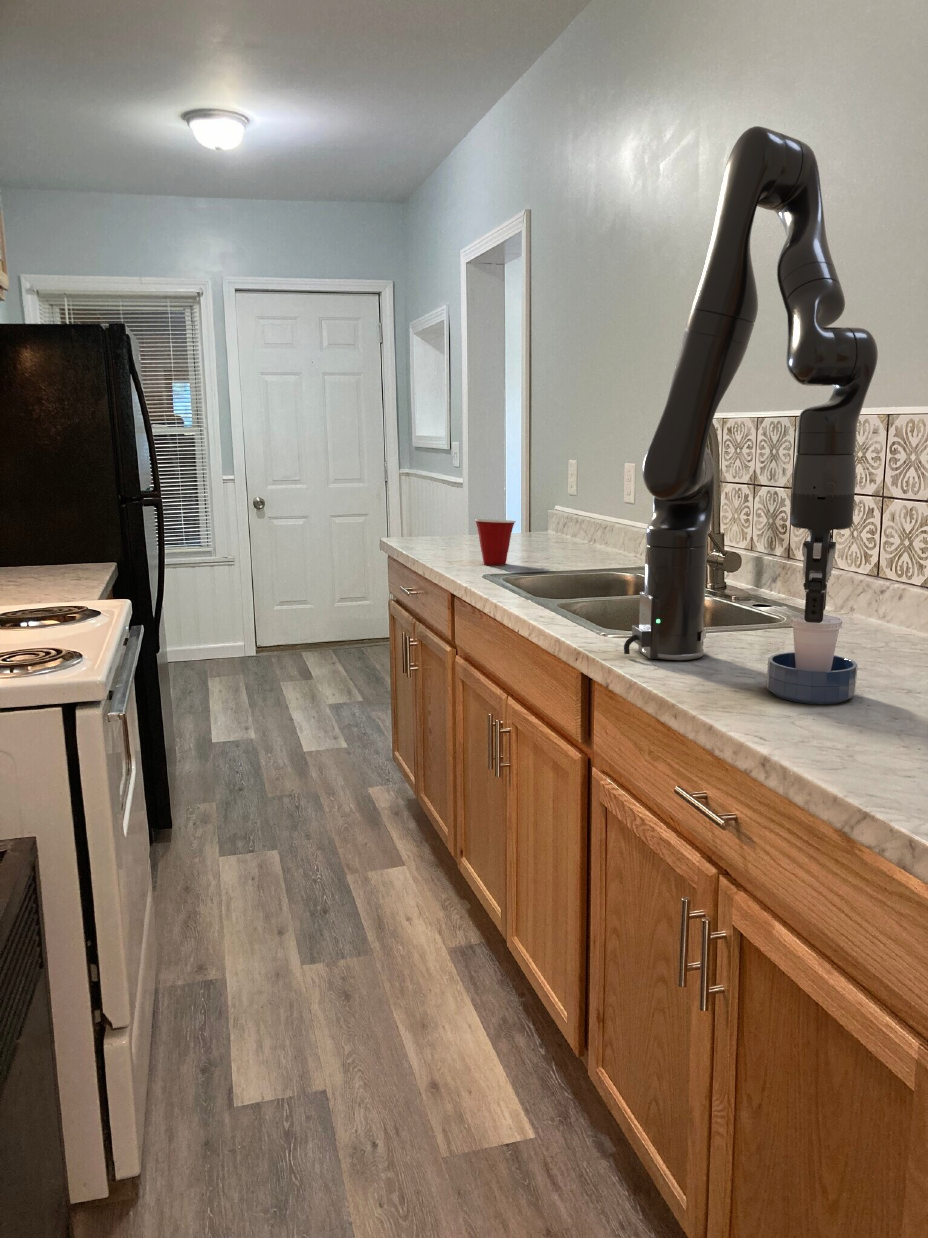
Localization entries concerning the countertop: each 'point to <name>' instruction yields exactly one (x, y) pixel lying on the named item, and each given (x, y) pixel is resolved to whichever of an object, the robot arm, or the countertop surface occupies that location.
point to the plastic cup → (494, 540)
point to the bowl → (811, 680)
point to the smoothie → (815, 642)
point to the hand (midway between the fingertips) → (815, 616)
